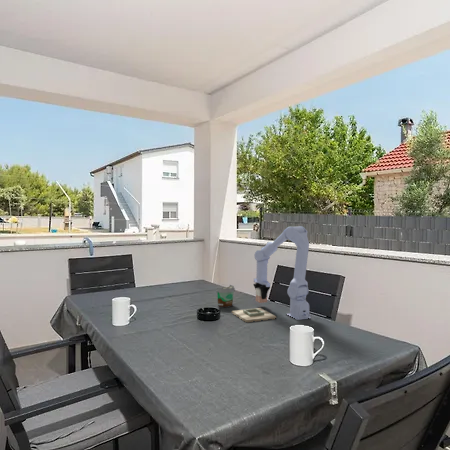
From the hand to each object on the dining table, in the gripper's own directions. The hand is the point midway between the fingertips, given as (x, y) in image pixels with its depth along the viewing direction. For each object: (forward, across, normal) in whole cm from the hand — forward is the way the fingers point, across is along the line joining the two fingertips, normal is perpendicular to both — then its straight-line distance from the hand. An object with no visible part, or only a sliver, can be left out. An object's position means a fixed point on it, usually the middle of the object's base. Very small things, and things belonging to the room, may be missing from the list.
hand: (261, 297), depth 193 cm
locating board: (+5, +14, -12) cm, 19 cm away
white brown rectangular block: (+2, 0, 0) cm, 2 cm away
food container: (+5, -8, -16) cm, 19 cm away
